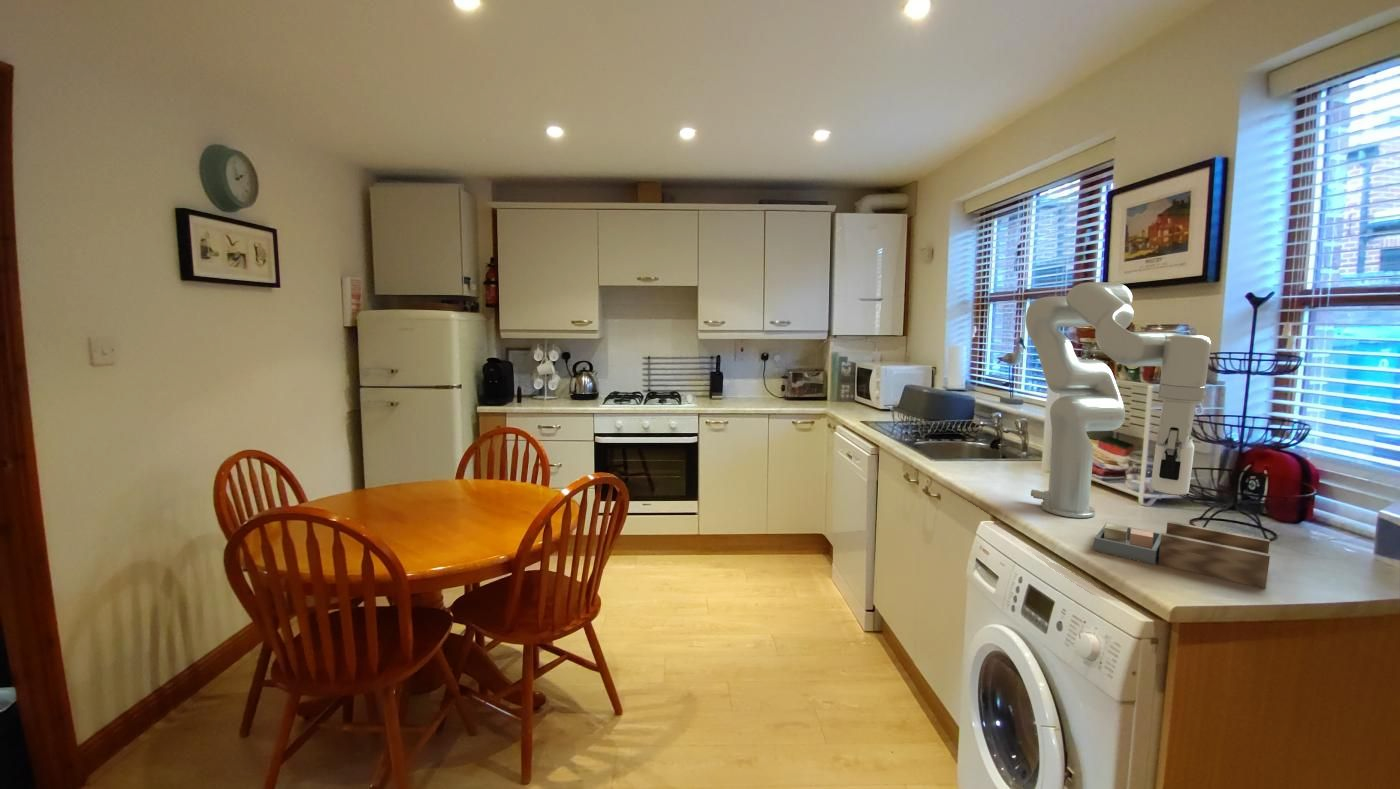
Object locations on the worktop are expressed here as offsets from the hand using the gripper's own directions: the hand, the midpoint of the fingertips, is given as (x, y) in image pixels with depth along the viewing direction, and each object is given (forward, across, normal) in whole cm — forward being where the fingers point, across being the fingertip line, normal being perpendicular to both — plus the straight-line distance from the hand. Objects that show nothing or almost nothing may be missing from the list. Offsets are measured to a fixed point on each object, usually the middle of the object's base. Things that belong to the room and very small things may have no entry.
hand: (1170, 474), depth 127 cm
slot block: (+18, +1, +9) cm, 20 cm away
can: (+4, 0, 0) cm, 4 cm away
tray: (+18, +1, -6) cm, 19 cm away
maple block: (+14, +1, -8) cm, 16 cm away
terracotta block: (+16, +2, -6) cm, 17 cm away
